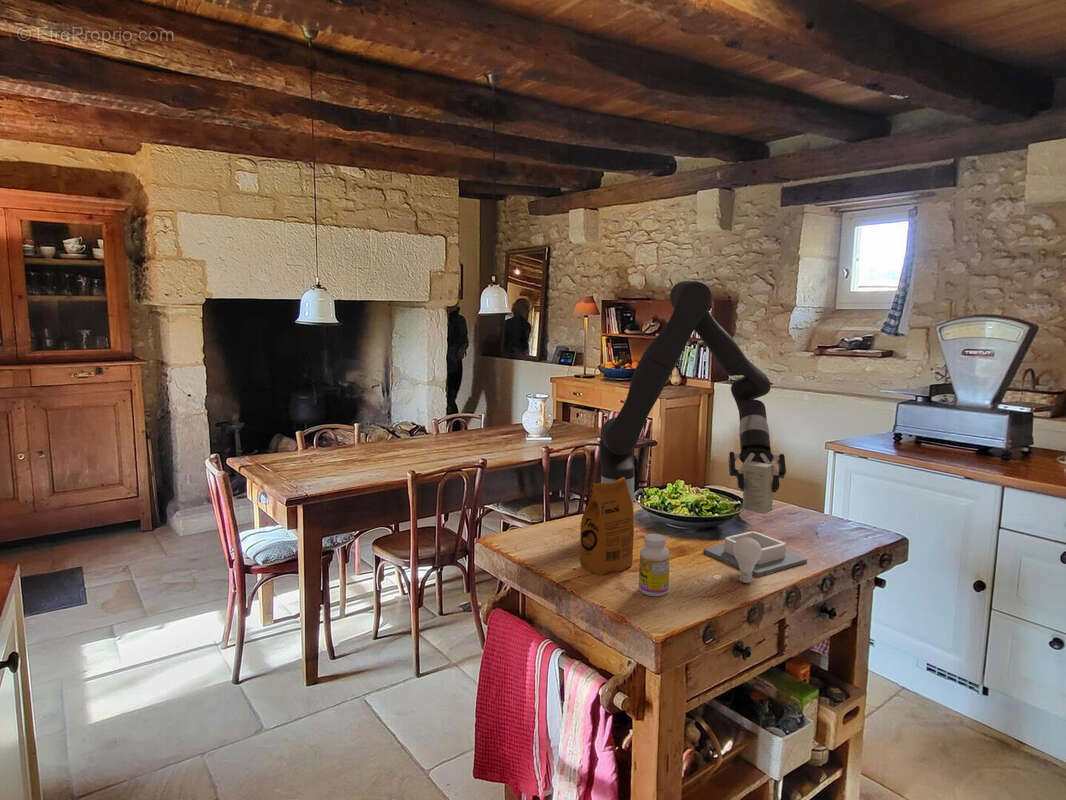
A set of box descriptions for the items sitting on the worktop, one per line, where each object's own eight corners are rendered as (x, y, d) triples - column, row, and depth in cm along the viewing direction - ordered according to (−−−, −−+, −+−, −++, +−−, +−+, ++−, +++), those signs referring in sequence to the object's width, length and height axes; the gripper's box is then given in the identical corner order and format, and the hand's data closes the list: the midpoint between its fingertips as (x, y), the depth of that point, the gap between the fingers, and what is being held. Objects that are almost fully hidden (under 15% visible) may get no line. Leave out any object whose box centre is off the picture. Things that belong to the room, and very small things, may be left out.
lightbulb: (745, 590, 150) (748, 544, 148) (725, 580, 156) (728, 535, 154) (765, 585, 153) (768, 540, 151) (745, 575, 158) (747, 531, 157)
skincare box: (772, 511, 167) (775, 464, 165) (764, 515, 164) (767, 467, 162) (749, 505, 172) (751, 460, 170) (740, 509, 169) (743, 463, 167)
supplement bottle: (635, 585, 152) (637, 532, 151) (663, 584, 153) (665, 531, 151) (642, 598, 146) (644, 542, 144) (672, 597, 146) (674, 542, 145)
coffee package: (573, 564, 165) (575, 479, 161) (613, 555, 171) (615, 472, 168) (597, 578, 156) (599, 489, 153) (638, 568, 163) (640, 481, 159)
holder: (757, 576, 158) (758, 559, 157) (703, 552, 173) (704, 536, 172) (806, 562, 166) (808, 545, 166) (751, 540, 182) (752, 525, 181)
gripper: (728, 427, 174) (731, 481, 164) (785, 429, 171) (791, 484, 161) (725, 442, 180) (727, 495, 170) (780, 444, 177) (786, 498, 167)
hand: (758, 490), depth 166 cm, fingers closed on skincare box, 7 cm apart
